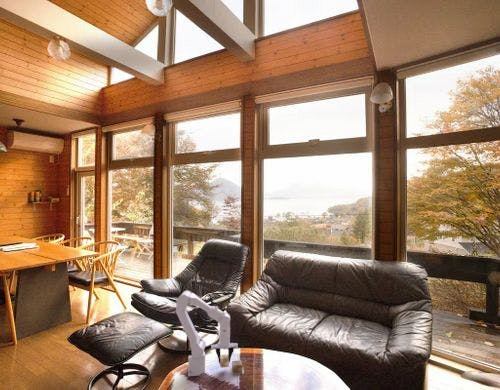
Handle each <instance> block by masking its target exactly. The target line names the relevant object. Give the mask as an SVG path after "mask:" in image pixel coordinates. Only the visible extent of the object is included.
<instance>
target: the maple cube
mask: <svg viewBox="0 0 500 390" xmlns="http://www.w3.org/2000/svg"><path fill="white" fill-rule="evenodd" d="M219 367H220V368H222V369H223V368H228V367H230V362H229V357H228V354H220V363H219Z"/></svg>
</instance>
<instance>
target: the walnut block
mask: <svg viewBox="0 0 500 390" xmlns="http://www.w3.org/2000/svg"><path fill="white" fill-rule="evenodd" d="M242 367H243V363H242V360H232V362H231V368H232V370H233V373H241V372H242Z"/></svg>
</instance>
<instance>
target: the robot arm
mask: <svg viewBox="0 0 500 390" xmlns="http://www.w3.org/2000/svg"><path fill="white" fill-rule="evenodd" d="M175 303H176V309H175V313H176V315H177V317H178V319H179V322H180V324H181V326H182V328H183V330H184V332H185V334H186V336H187V338H188V340H189V347H190V350H191V355H188V361H187V363H188V364H187V365H188V366H187V371H188V372H187V376H188V377H193V376H194V377H196V376H198V377H199V376H201V374H204V373H205V372H206V352H205V348H206V341H205V340H204V339H202V337H201V336H200V335H199V334H198V332H197V329H196V328H195V325H194V324H193V322H192V320H191V317H190V316H189V313H188V311H187V308H188V306H194V305H195V306H196V307H198V308H200V309H201V310H203V311H205V312H207V316H209V317H210V318H211V319H213V320H214V321H216V322H218V324H219V343H215V344H211V345H210V346H211V347H210V348H211V349H210V350H211V351H213V350H215V354H216V356H217V358H218V359H217V360H218V364H220V355H221V350H222V349H223V350H227V351H228V352H227V353H228V357H229V363H230V362H231V358H232V355H233V354H234V350H235V349H238V347H239V346H238V343H237V342H235V343H234V342H230V341H231V315H230V314H229V313H228V312H225V311H222V310H221V309H219V306H217V305H216V306H214V305H209V304H208V303H207V302H205V301H204V300H203V299H202V298H200V297H199V296H198V295H196V294H195V293H194V292H191V291H190V290H187V289H186V290H184V291H183V292H182V293H181V294H180V295H179V296H178V297H177V300H176V301H175Z"/></svg>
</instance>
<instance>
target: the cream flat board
mask: <svg viewBox="0 0 500 390" xmlns="http://www.w3.org/2000/svg"><path fill="white" fill-rule="evenodd" d="M229 369H230V374H231V375H240V374H241V375H242V374H245V371H244V367H243V366H242V372H241V373H233V370H232V367H230V368H229Z"/></svg>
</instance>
